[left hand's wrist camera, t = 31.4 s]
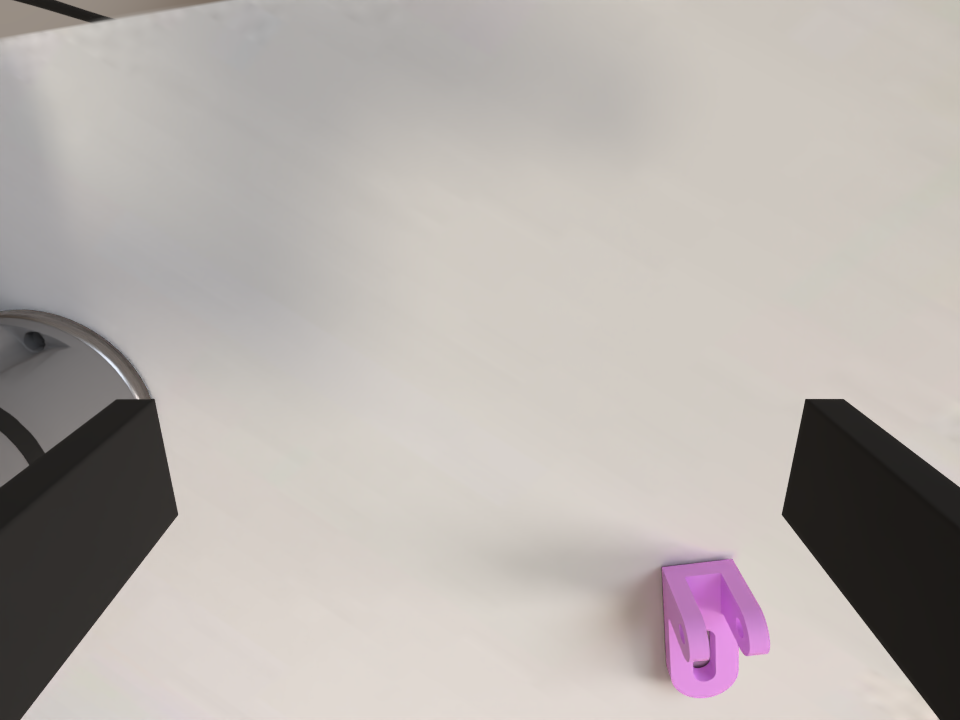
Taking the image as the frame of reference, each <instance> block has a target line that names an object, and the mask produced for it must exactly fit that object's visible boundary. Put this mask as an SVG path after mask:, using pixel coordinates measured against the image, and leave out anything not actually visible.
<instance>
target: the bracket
mask: <svg viewBox="0 0 960 720" xmlns="http://www.w3.org/2000/svg"><path fill="white" fill-rule="evenodd" d="M662 582H663V603H664V623H665V644H666V664H667V669H668V672H669V674H670V677H671V680H672V683H673V685H674V687H675V688H676V689H677V690H678V691H679V692H681V693H682V694H684V695H686V696H689V697H694V698H707V697H712V696H715V695H718V694H720V693H722V692H724V691H725V690H727V689H728V688H729V687H730V686H731V685H732V684H733V683H734V682H735V680H736V678H737V676H738V664H739V647H740V649H741V651H742V653H743V654H744V655H745V656H751V655H760V654H768V653H769V650H770V638H769V632H768V627H767V624H766V620H765V617H764V615H763V612H762V610H761V608H760V606H759V604H758V603H757V601H756V599H755V597H754V596H753V594H752V592H751V591H750V589H749V587H748V585H747V584H746V582H745V580H744V578H743V577H742V575H741V573H740V572H739V570H738V568H737V566H736V565H735V563H734V561H733V559H728V560H719V561H711V562H702V563H693V564H685V565H676V566H667V567H662ZM707 630H708V631H710V647H709V640H708V635H707ZM709 657H710V661H709V663H708V664H707V665H706V666H704V667H702V668H694V667H693V662H695V661H704V660H709Z"/></svg>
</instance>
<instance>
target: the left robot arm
mask: <svg viewBox="0 0 960 720" xmlns="http://www.w3.org/2000/svg"><path fill="white" fill-rule="evenodd" d="M14 1H17V2H21V3H25V4H28V5H32V6H36V7H39V8H43V9H46V10H49V11H53V12H56V13H59V14H63V15H66V16H69V17H73V18H76V19H79V20H83V21H86V22H89V23H95V22H101V21H106V20H112V19H113V18H110V17H106V16H103V15H100V14H97V13H93V12H90V11H87V10H84V9H81V8H78V7H75V6H72V5H68V4H66V3H63V2H60V1H57V0H14ZM177 516H178V511H177V507H176V502H175V497H174V492H173V487H172V482H171V477H170V472H169V468H168V463H167V458H166V453H165V448H164V443H163V438H162V433H161V429H160V424H159V419H158V414H157V409H156V404H155V399H151V398H150V395H149V393H148V391H147V388H146V386H145V385H144V383H143V381H142V379H141V377H140V376H139V374H138V373H137V371H136V370H135V369H134V367H133V366H132V365H131V364H130V362H129V361H128V360H127V359H126V358H125V357H124V356H123V355H122V353H121V352H119V351H118V350H117V349H116V348H115V347H114V346H113V345H112V344H111V343H109V342H108V341H107V340H105V339H104V338H103V337H101V336H100V335H98V334H97V333H95V332H94V331H92V330H90V329H88V328H87V327H85V326H83V325H81V324H79V323H77V322H74V321H72V320H70V319H67V318H64V317H61V316H58V315H54V314H51V313H46V312H41V311H33V310H9V311H2V312H0V720H20V719H21V718H22V717H23V715H24V714H25V713H26V712H27V710H28V709H29V708H30V706H31V705H32V704H33V702H34V701H35V700H36V699H37V697H38V696H39V695H40V693H41V692H42V691H43V690H44V688H45V687H46V686H47V684H48V683H49V682H50V680H51V679H52V678H53V677H54V675H55V674H56V673H57V671H58V670H59V669H60V667H61V666H62V665H63V664H64V662H65V661H66V660H67V658H68V657H69V656H70V654H71V653H72V652H73V651H74V649H75V648H76V647H77V645H78V644H79V643H80V642H81V640H82V639H83V638H84V636H85V635H86V634H87V632H88V631H89V630H90V629H91V627H92V626H93V625H94V623H95V622H96V621H97V619H98V618H99V617H100V616H101V614H102V613H103V612H104V610H105V609H106V608H107V606H108V605H109V604H110V603H111V601H112V600H113V599H114V597H115V596H116V595H117V593H118V592H119V591H120V590H121V588H122V587H123V586H124V584H125V583H126V582H127V581H128V579H129V578H130V577H131V575H132V574H133V573H134V571H135V570H136V569H137V568H138V566H139V565H140V564H141V562H142V561H143V560H144V558H145V557H146V556H147V555H148V553H149V552H150V551H151V549H152V548H153V547H154V545H155V544H156V543H157V542H158V540H159V539H160V538H161V536H162V535H163V534H164V533H165V531H166V530H167V529H168V527H169V526H170V525H171V523H172V522H173V521H174V520H175V518H176V517H177ZM782 516H783V517H784V518H785V520H786V521H787V522H788V523H789V525H790V526H791V527H792V529H793V530H794V531H795V533H796V534H797V535H798V536H799V538H800V539H801V540H802V542H803V543H804V544H805V545H806V547H807V548H808V549H809V551H810V552H811V553H812V555H813V556H814V557H815V558H816V560H817V561H818V562H819V564H820V565H821V566H822V568H823V569H824V570H825V571H826V573H827V574H828V575H829V577H830V578H831V579H832V581H833V582H834V583H835V584H836V586H837V587H838V588H839V590H840V591H841V592H842V594H843V595H844V596H845V597H846V599H847V600H848V601H849V603H850V604H851V605H852V606H853V608H854V609H855V610H856V612H857V613H858V614H859V616H860V617H861V618H862V619H863V621H864V622H865V623H866V625H867V626H868V627H869V629H870V630H871V631H872V632H873V634H874V635H875V636H876V638H877V639H878V640H879V642H880V643H881V644H882V645H883V647H884V648H885V649H886V651H887V652H888V653H889V654H890V656H891V657H892V658H893V660H894V661H895V662H896V664H897V665H898V666H899V667H900V669H901V670H902V671H903V673H904V674H905V675H906V677H907V678H908V679H909V680H910V682H911V683H912V684H913V686H914V687H915V688H916V690H917V691H918V692H919V693H920V695H921V696H922V697H923V699H924V700H925V701H926V702H927V704H928V705H929V706H930V708H931V709H932V710H933V712H934V713H935V714H936V715H937V717H938V718H939V719H940V720H960V487H959V486H957V485H956V484H955V483H953V482H952V481H951V480H949V479H948V478H947V477H945V476H944V475H943V474H941V473H940V472H939V471H938V470H936V469H935V468H934V467H932V466H931V465H930V464H928V463H927V462H926V461H924V460H923V459H922V458H920V457H919V456H918V455H916V454H915V453H914V452H912V451H911V450H910V449H909V448H907V447H906V446H905V445H903V444H902V443H901V442H899V441H898V440H897V439H895V438H894V437H893V436H891V435H890V434H889V433H887V432H886V431H885V430H884V429H882V428H881V427H880V426H878V425H877V424H876V423H874V422H873V421H872V420H870V419H869V418H868V417H866V416H865V415H864V414H862V413H861V412H860V411H858V410H857V409H856V408H855V407H853V406H852V405H851V404H849V403H848V402H847V401H845V400H844V399H805V404H804V409H803V414H802V419H801V424H800V429H799V433H798V438H797V443H796V448H795V453H794V458H793V463H792V468H791V472H790V477H789V482H788V487H787V492H786V497H785V502H784V507H783V511H782Z"/></svg>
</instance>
